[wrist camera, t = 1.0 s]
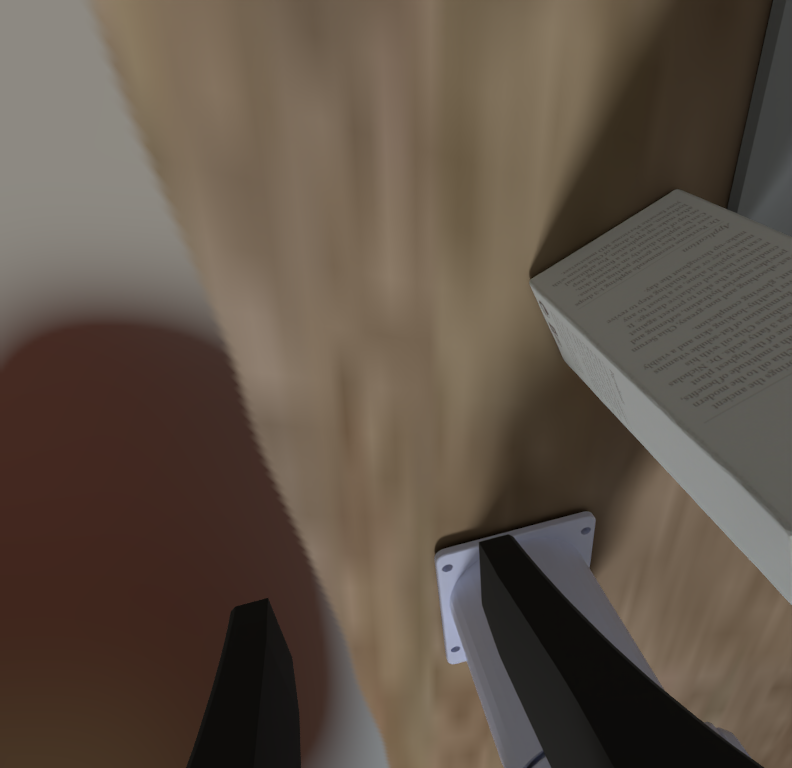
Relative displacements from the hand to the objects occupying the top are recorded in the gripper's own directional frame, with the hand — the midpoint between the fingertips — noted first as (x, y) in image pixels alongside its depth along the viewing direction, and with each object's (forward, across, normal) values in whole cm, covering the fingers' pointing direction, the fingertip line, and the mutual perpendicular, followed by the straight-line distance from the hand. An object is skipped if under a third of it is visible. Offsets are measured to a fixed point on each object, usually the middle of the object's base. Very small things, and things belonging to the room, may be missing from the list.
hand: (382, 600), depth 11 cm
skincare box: (+11, -11, 0) cm, 15 cm away
